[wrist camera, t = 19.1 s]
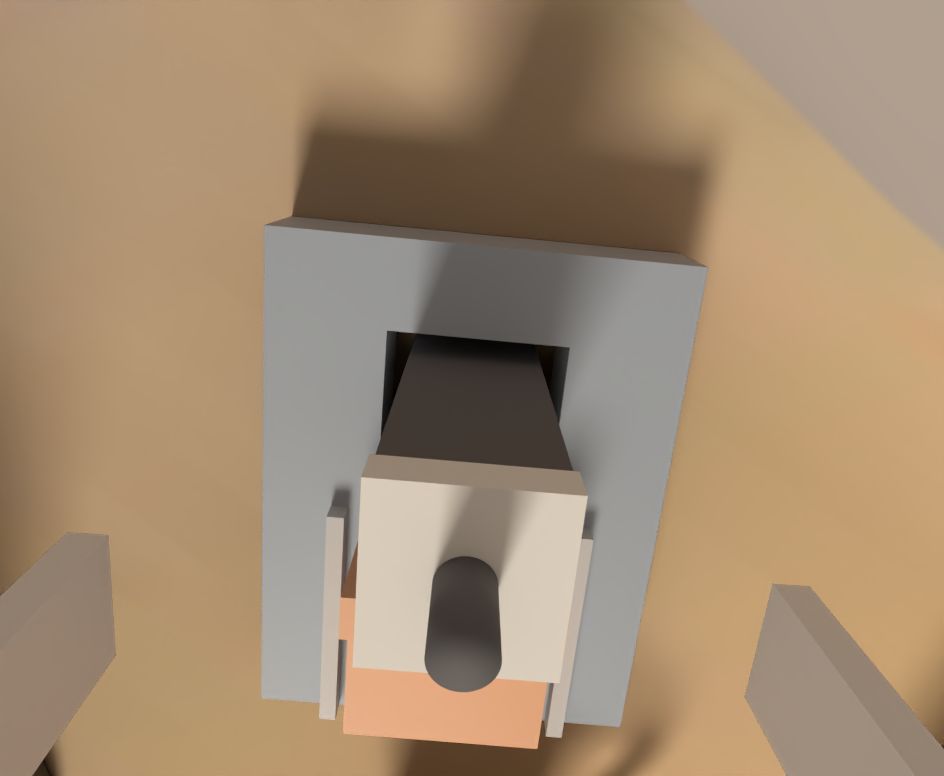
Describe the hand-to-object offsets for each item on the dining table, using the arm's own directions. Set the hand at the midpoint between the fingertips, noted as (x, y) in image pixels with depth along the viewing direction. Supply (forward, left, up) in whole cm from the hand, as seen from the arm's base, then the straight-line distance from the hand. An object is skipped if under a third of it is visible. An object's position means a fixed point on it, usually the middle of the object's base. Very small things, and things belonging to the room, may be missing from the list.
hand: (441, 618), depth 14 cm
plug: (0, 0, -14) cm, 14 cm away
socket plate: (0, -3, -14) cm, 14 cm away
